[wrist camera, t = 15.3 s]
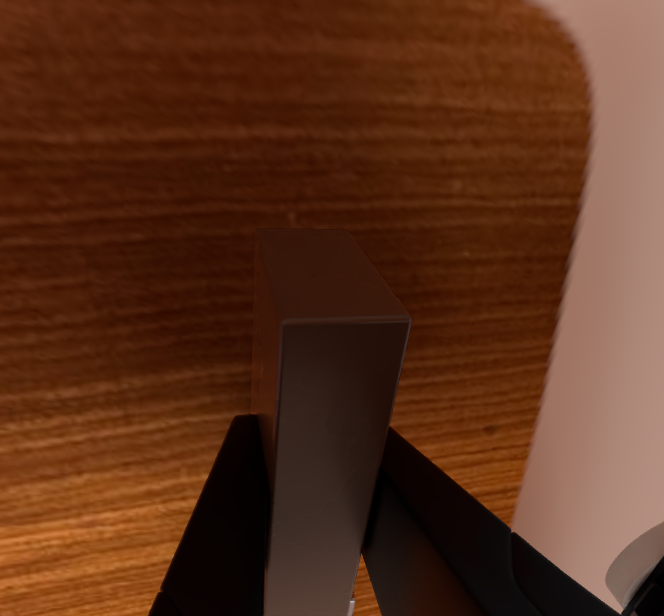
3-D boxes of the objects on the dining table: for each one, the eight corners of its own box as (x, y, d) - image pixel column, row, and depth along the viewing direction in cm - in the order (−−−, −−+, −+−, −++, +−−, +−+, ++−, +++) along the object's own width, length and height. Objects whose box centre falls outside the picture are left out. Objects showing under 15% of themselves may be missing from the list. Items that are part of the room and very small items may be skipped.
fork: (413, 229, 8) (505, 314, 6) (329, 655, 15) (353, 775, 13) (177, 224, 7) (161, 325, 5) (205, 683, 14) (205, 818, 12)
